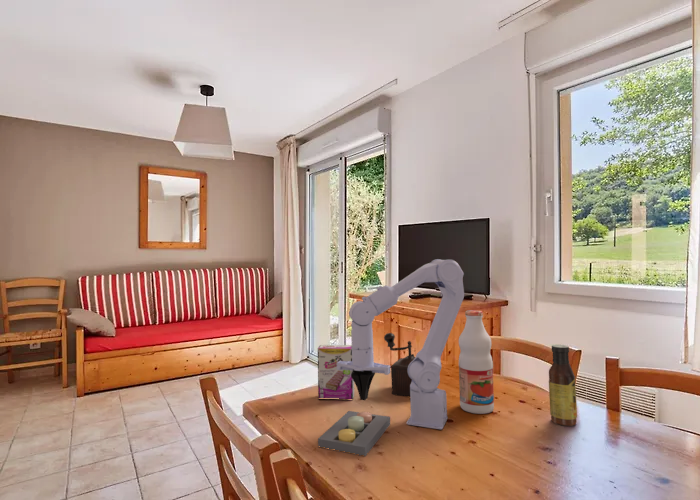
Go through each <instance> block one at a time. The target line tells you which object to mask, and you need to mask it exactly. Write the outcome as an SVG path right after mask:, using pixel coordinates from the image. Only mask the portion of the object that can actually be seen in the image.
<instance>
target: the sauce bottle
mask: <svg viewBox="0 0 700 500" xmlns="http://www.w3.org/2000/svg"><path fill="white" fill-rule="evenodd" d="M551 352H552V362H553V363H552V365H550V368H549V369H548V392H549V393H548V394H549V397H548V398H549V411H550V412H549V414H550V418H551V421H552V423H554V424H556V425H559V426H564V427H572V426H575V425H576V424H577V423H578V422H577V418H578V410H577V409H578V406H577V405H578V404H577V389H576V376H575V374H574V372H573V369H572V366H571V364H570V360H569V358H570V357H569V352H570V347H569V346H568V345H565V344H552V345H551Z"/></svg>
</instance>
